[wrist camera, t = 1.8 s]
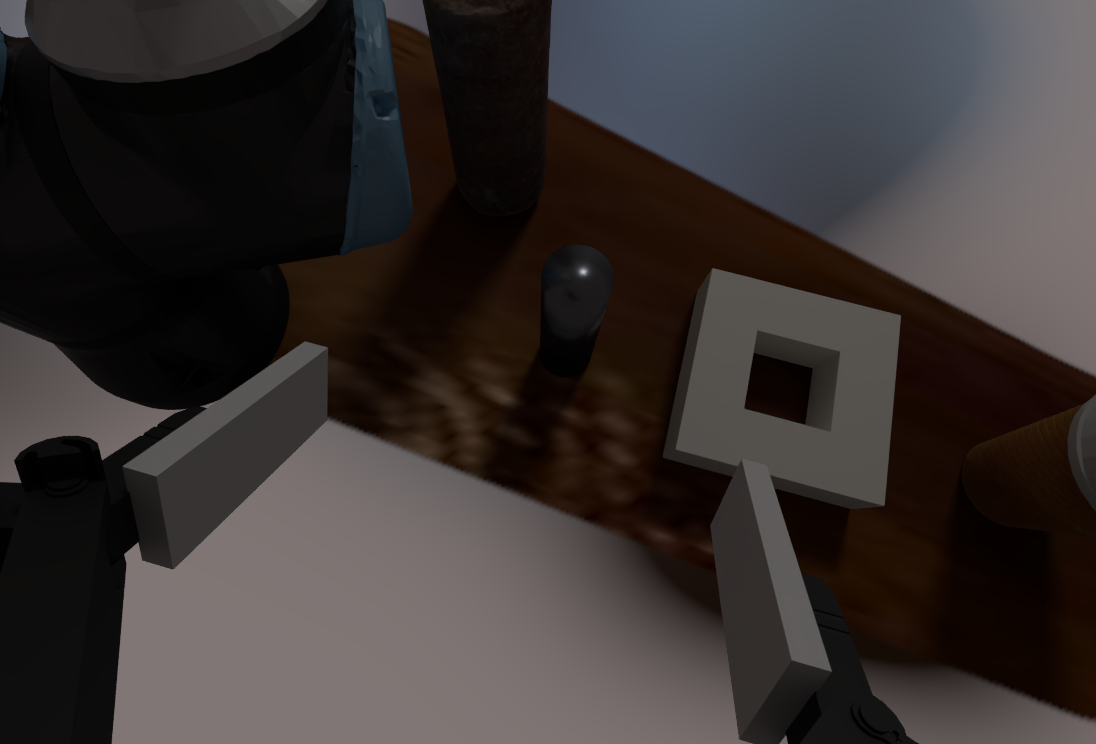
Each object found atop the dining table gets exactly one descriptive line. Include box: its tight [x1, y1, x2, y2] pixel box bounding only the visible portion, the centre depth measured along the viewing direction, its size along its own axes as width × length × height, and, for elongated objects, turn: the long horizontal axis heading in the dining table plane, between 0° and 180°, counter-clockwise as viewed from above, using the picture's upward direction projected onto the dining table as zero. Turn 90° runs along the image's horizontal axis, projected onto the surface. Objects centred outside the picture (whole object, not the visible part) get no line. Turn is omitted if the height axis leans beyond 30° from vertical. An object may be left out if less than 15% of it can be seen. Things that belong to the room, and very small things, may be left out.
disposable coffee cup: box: [961, 395, 1096, 538], centre depth 34 cm, size 10×10×12 cm
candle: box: [423, 0, 552, 217], centre depth 37 cm, size 8×7×20 cm
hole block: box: [662, 268, 901, 509], centre depth 40 cm, size 14×14×4 cm
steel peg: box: [540, 245, 614, 377], centre depth 36 cm, size 4×4×13 cm
